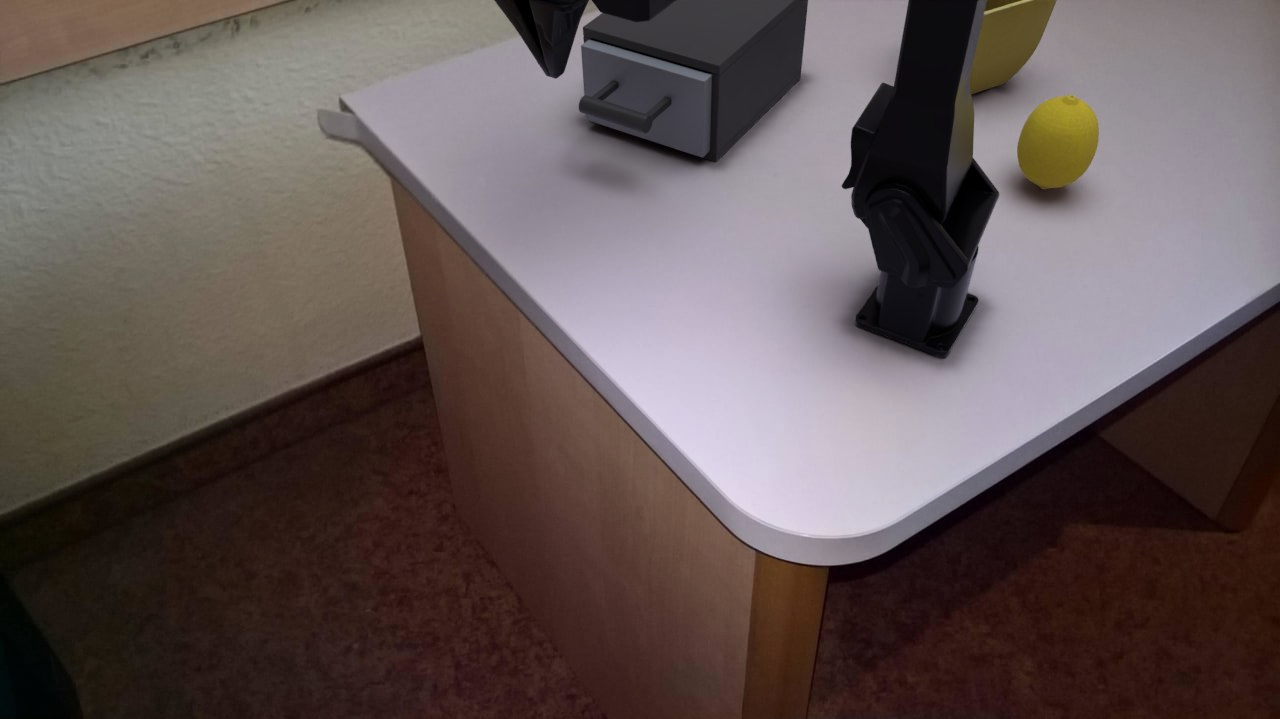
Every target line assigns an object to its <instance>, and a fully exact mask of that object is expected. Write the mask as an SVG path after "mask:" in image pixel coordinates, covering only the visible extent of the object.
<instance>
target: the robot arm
mask: <svg viewBox="0 0 1280 719" xmlns="http://www.w3.org/2000/svg"><path fill="white" fill-rule="evenodd" d="M493 1H494V2H495V4H496V5H497V7H499V9H500V10H501V11H502V13H503V14H504V16H505V17H506V18H507V19H508V21H509V22H510V24H511V25H512V26H513V27H514V29H515V31H516V32H517V33H518V35H519V36H520V38H521V39H522V41H523V42H524V44H525V45H526V47H527V49H528V50H529V52H530V53H531V55H532V57H533V58H534V59H535V61H536V62H537V64H538V65H539V66H540V68H541V70H542V72H543V73H544V74H545V76H547V77H549V78H552V79H555V80H556V79H558V78H559V77H561V76H562V75H564V73H565V71H566V69H567V65H568V63H569V62H568V61H569V59H570V55H571V51H572V48H573V45H574V41H575V38H576V35H577V32H578V28H579V25H580V23H581V19H582V17H583V15H584V13H585V10H586V9H587V6H588V3H589V2H590V0H493ZM675 1H676V0H591V2H592V3H593V5H594V6H595V7H596V8H597V10H598V11H599V12H600V14H602V13H605V14H609V15H612V16H616V17H619V18H623V19H626V20H630V21H633V22H643V21H650V20H651V19H652V18H654V17H655V16H656V15H658V14H659V13H660V12H662V11H663V10H664V9H666V8H667V7H668V6H670V5H671V4H672V3H674V2H675ZM986 3H987V0H908V1H907V6H906V8H907V9H906V14H905V19H904V24H903V32H902V37H901V43H900V47H899V54H898V59H897V66H896V72H895V77H894V84H893V85H891V84H888V83H885V82H881V83H880V85H879V86H878V87H877V89H876V91H875V92H874V94H873V95H872V97H871V99H870V100H869V102H868V103H867V105H866V106H865V108H864V110H863V111H862V113H861V114H860V116H859V117H858V119H857V121H856V122H855V124H854V125H853V127H852V128H851V134H850V135H851V136H850V168H849V171H848V174H847V176H846V177H845V179H844V180H843V182H842V184H841V188H842V189H843V190H848V189H852V191H851V195H850V199H851V208H852V212H853V215H854V217H855V218H856V219H858V220H860V221H861V222H862V224H863V225H864V226H865V227H866V229H867V230H868V234H869V237H870V238H869V239H870V242H871V246H872V249H873V250H872V251H873V254H874V258H875V262H876V265H877V269H878V271H880V272H879V278H878V283H877V286H875V288H874V289H873V291H872V293H871V294H870V296H869V297H868V298H867V300H866V301H865V302H864V304H863V305H862V307H861V308H860V309H859V311H858V312H857V314H855V315H856V316H855V320H854V324H855V325H856V326H858V327H860V328H862V329H865V330H867V331H870V332H873V333H876V334H878V335H881V336H884V337H886V338H889V339H892V340H894V341H896V342H900V343H902V344H904V345H908V346H909V347H913V348H915V349H918V350H921V351H923V352H926V353H928V354H932V355H934V356H937V357H940V358H945V357H947V356H948V355H949V354H950V353H951V351H952V349H953V347H954V346H955V344H956V343H957V341H958V339H959V338H960V336H961V334H962V332H963V331H964V329H965V328H966V325H967V324H968V322H969V321H970V319H971V317H972V315H973V314H974V312H975V311H976V309H977V307H978V304H979V297H978V296H976V295H974V294H972V293H969V292H968V291H969V288H970V284H971V280H972V276H973V273H974V268H975V265H976V263H977V262H976V261H977V257H978V254H979V249H980V248H979V247H980V246H979V245H980V242H981V240H982V237H983V235H984V233H985V231H986V228H987V225H988V223H989V221H990V219H991V216H992V213H993V212H994V209H995V207H996V205H997V202H998V200H999V198H1000V191H999V190H998V188H996V186H995V185H994V183H993V182H992V180H990V178H989V177H988V176H987V174H986V172H985V171H984V170H983V169H982V167H981V165H979V163H978V161H976V160H975V158H974V136H975V134H974V133H975V110H974V103H973V96H972V94H971V90H970V73H971V69H972V65H973V60H974V56H975V51H976V47H977V43H978V38H979V34H980V30H981V25H982V21H983V16H984V12H985V8H986Z"/></svg>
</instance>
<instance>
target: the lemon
mask: <svg viewBox="0 0 1280 719" xmlns="http://www.w3.org/2000/svg"><path fill="white" fill-rule="evenodd" d="M1099 136H1100V127H1099V119H1098V117H1097V115H1096V113H1095V111H1094V110H1093V108H1092V107H1091V106H1090V105H1089V104H1088V103H1087V102H1085V101H1084V100H1082V99H1080V98H1077V96H1076V95H1074V94H1068V95H1060V96H1055V97H1052V98H1048V99H1047V100H1045V101H1043V102H1042V103H1039V105H1038V106H1036V107H1035V108H1034V110H1032V112H1031V113H1030V115H1029V116H1028V117H1027V119H1026V120H1025V122H1024V124H1023V126H1022V129H1021V130H1020V134H1019V138H1018V141H1017V148H1016V155H1017V156H1016V157H1017V161H1018V166H1019V169H1020V171H1021V172H1022V173H1023V175H1024V176H1025V178H1027V179H1028V180H1029V181H1030V182H1031V183H1033V184H1035V185H1037V186H1038V187H1039V188H1040V189H1041V190H1049V189H1057V188H1064V187H1066V186H1068V185H1070V184H1073V183H1075V182H1076V181H1077V180H1079V179H1080V178H1081V177H1082V176H1083V175H1084V174H1085V173H1086V172H1087V170H1088V169H1089V167H1090V166H1091V164H1092V162H1093V160H1094V157H1095V156H1096V152H1097V149H1098V145H1099V140H1100V139H1099Z"/></svg>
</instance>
